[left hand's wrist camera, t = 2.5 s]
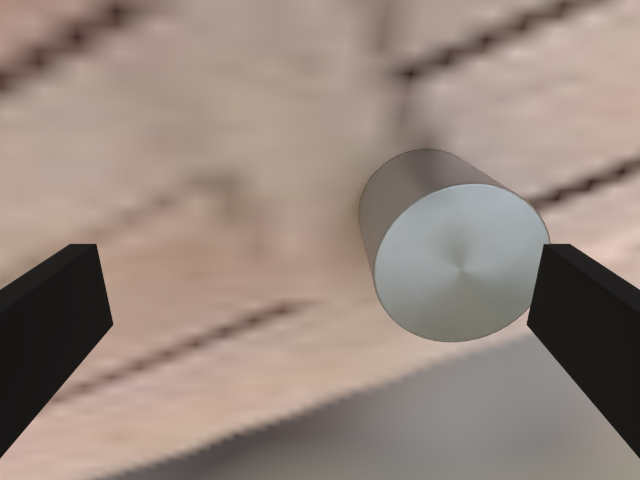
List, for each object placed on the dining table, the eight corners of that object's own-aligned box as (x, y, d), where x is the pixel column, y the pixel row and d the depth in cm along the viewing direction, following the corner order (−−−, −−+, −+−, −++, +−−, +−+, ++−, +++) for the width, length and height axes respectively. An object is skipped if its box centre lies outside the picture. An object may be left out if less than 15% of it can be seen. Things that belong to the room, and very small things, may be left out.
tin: (461, 126, 25) (525, 150, 17) (499, 239, 28) (570, 306, 20) (338, 183, 26) (344, 230, 18) (386, 285, 29) (410, 364, 21)
